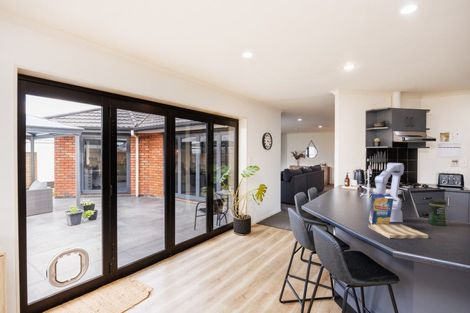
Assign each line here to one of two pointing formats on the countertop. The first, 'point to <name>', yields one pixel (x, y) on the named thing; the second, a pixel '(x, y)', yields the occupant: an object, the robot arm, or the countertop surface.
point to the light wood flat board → (397, 231)
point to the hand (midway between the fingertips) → (380, 211)
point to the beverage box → (380, 209)
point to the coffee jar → (437, 212)
